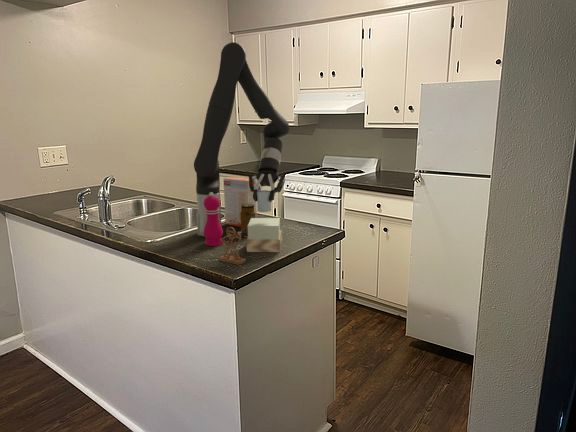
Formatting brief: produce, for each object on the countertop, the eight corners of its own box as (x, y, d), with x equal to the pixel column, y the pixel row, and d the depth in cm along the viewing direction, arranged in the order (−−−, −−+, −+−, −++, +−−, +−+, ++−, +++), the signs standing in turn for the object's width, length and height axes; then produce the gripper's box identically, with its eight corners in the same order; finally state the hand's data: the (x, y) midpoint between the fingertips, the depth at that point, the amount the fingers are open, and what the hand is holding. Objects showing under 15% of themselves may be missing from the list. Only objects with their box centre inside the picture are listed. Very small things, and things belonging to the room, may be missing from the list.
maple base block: (246, 252, 157) (246, 239, 156) (251, 242, 169) (250, 230, 168) (279, 252, 157) (279, 239, 155) (282, 242, 168) (282, 230, 167)
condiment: (252, 230, 184) (251, 202, 182) (261, 235, 177) (260, 206, 174) (236, 232, 181) (235, 204, 178) (245, 237, 174) (244, 208, 171)
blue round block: (256, 212, 157) (256, 193, 155) (258, 208, 162) (257, 190, 160) (270, 212, 157) (270, 193, 155) (271, 208, 161) (271, 190, 160)
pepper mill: (214, 239, 172) (212, 189, 167) (227, 243, 167) (225, 191, 162) (200, 244, 166) (197, 192, 162) (213, 247, 162) (210, 195, 157)
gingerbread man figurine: (218, 260, 149) (216, 226, 146) (226, 256, 152) (224, 223, 149) (239, 265, 144) (237, 230, 141) (246, 261, 148) (245, 227, 145)
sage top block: (248, 239, 156) (247, 226, 155) (251, 230, 167) (251, 218, 166) (278, 239, 156) (278, 225, 155) (280, 230, 166) (279, 218, 165)
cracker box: (257, 226, 190) (256, 178, 185) (248, 229, 186) (246, 180, 180) (234, 221, 198) (232, 175, 193) (224, 224, 194) (222, 177, 188)
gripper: (249, 156, 163) (241, 194, 154) (287, 156, 160) (280, 195, 152) (254, 168, 169) (246, 205, 161) (290, 168, 166) (284, 206, 158)
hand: (262, 200), depth 156 cm, fingers closed on blue round block, 5 cm apart
